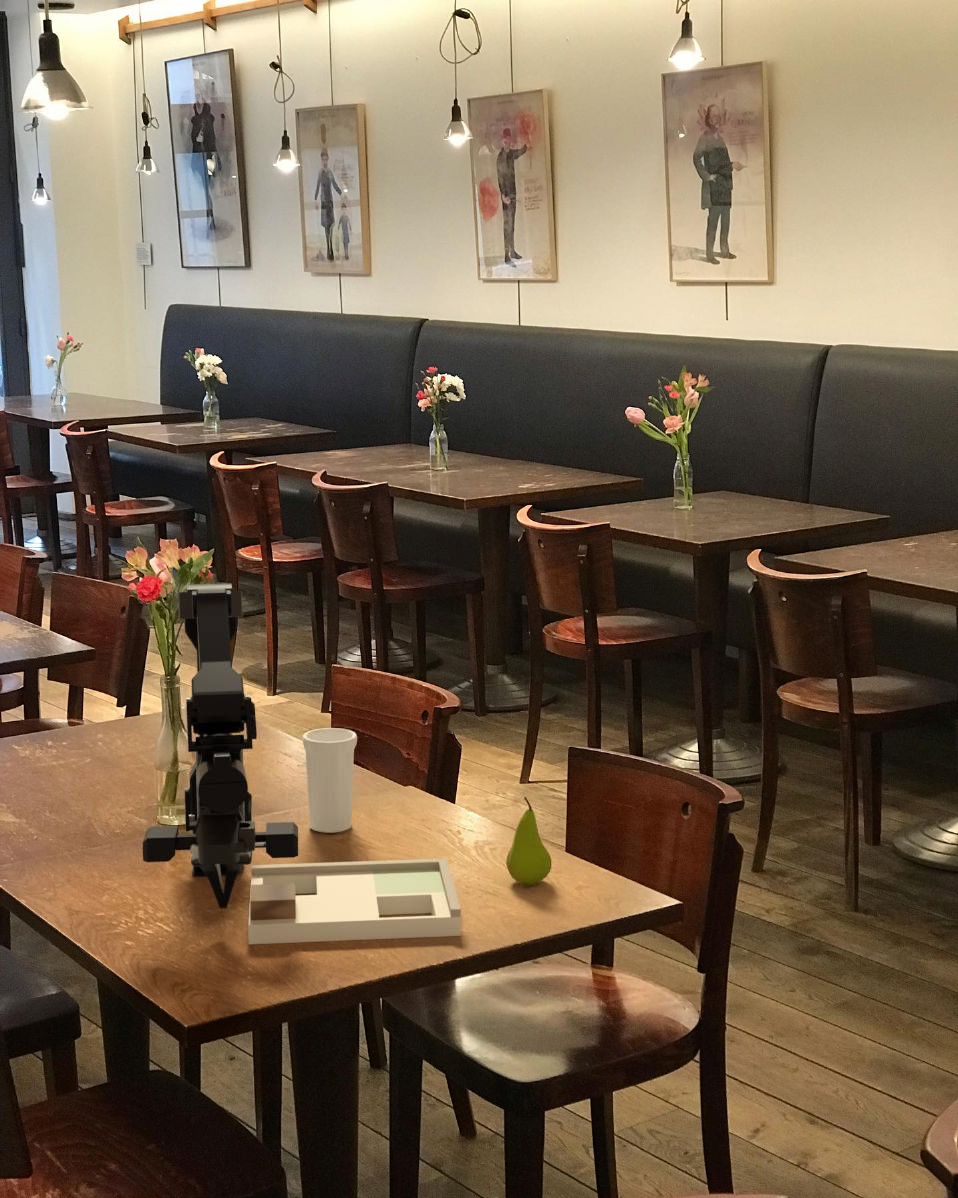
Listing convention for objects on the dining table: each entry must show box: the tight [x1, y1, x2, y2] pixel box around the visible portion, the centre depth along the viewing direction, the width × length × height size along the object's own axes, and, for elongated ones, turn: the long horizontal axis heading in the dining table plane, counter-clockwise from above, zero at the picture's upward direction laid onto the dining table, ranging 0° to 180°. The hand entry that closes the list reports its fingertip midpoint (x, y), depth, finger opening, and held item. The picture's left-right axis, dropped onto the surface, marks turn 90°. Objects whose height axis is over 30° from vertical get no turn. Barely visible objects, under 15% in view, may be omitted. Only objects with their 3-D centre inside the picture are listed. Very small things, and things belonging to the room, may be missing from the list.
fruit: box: [505, 796, 553, 887], centre depth 215 cm, size 6×6×12 cm
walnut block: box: [249, 883, 297, 920], centre depth 199 cm, size 6×6×2 cm
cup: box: [301, 727, 358, 834], centre depth 236 cm, size 8×8×14 cm
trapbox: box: [247, 857, 462, 945], centre depth 205 cm, size 26×18×4 cm
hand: (223, 907), depth 198 cm, fingers closed
